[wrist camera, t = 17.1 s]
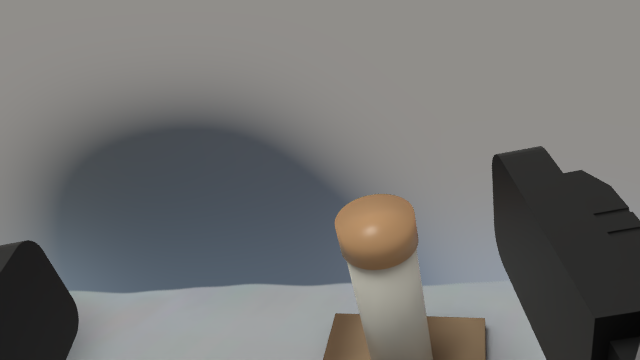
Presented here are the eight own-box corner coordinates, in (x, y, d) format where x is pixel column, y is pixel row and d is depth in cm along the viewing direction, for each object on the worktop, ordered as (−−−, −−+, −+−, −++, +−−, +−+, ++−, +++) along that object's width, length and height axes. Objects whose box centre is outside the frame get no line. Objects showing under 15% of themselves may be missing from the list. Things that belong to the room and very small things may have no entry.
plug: (366, 394, 40) (327, 244, 32) (376, 340, 43) (343, 195, 36) (434, 399, 38) (410, 243, 31) (438, 343, 42) (418, 192, 34)
